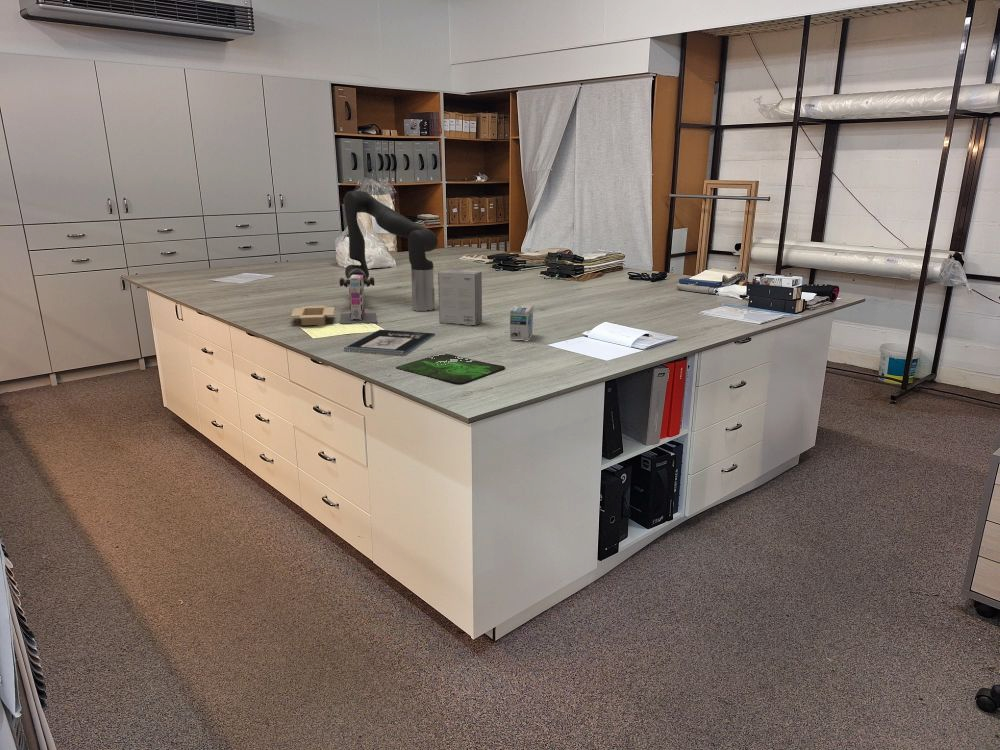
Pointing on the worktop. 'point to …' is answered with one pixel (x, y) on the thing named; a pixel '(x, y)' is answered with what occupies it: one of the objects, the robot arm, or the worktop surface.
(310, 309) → the carton
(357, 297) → the candy bar box
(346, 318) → the mat
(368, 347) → the sketchbook
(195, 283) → the worktop surface
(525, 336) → the light bulb box
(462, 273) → the hard drive box
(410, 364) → the mouse mat
